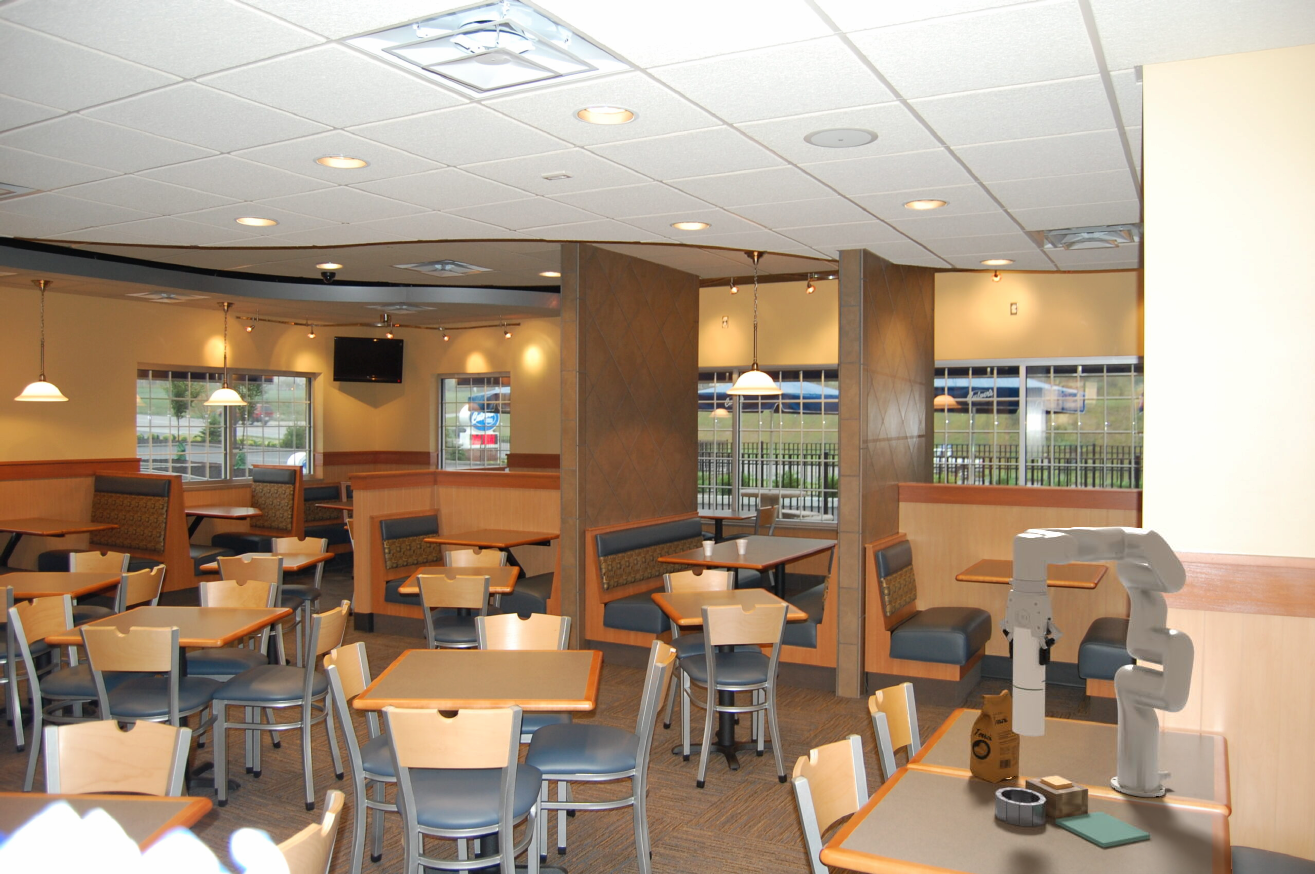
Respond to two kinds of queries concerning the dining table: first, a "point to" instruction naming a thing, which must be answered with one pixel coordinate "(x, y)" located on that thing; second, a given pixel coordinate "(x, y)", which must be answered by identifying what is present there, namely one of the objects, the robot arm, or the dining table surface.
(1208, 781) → the dining table surface
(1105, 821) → the mat
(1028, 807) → the collar
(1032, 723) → the cylindrical container
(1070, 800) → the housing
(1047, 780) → the tan block
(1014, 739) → the coffee package
